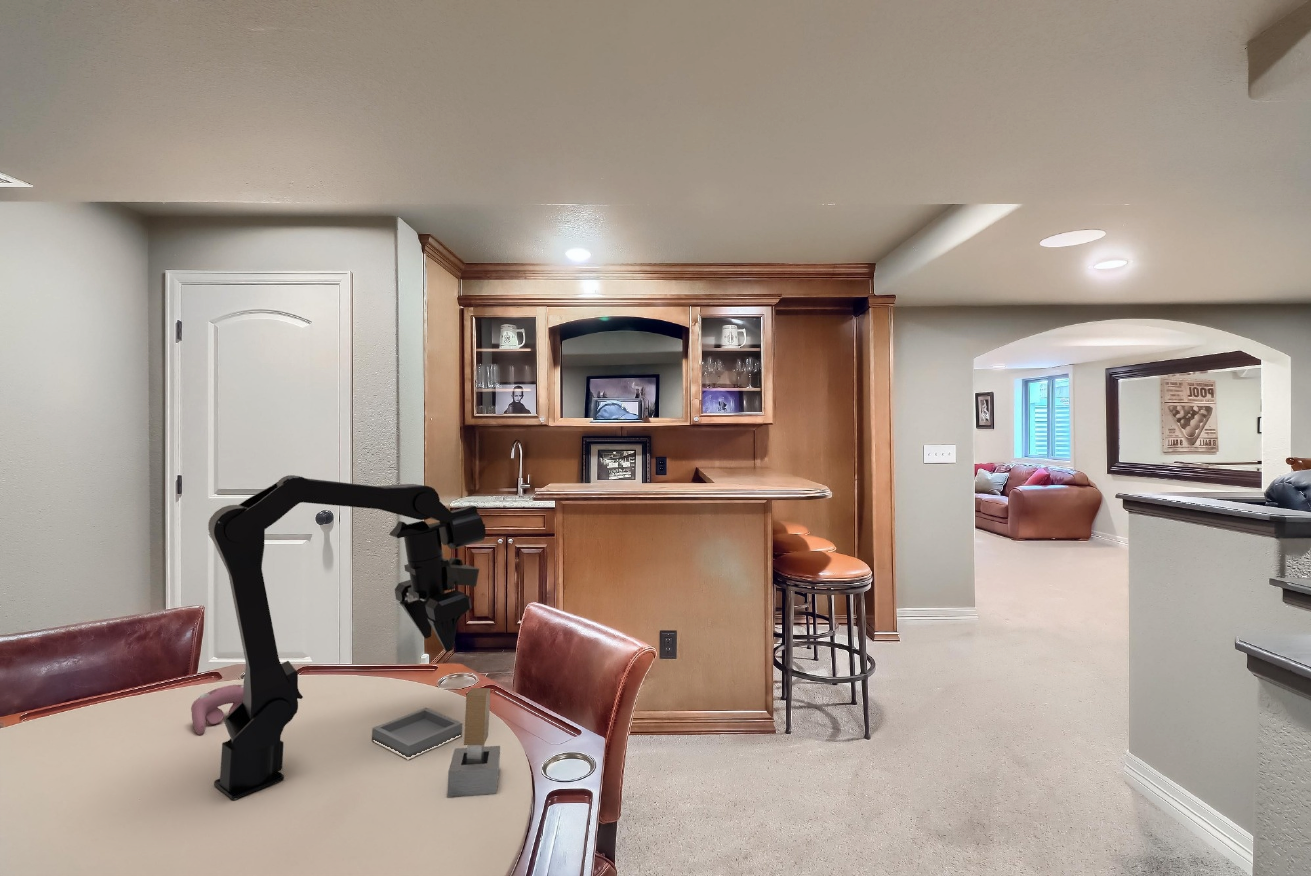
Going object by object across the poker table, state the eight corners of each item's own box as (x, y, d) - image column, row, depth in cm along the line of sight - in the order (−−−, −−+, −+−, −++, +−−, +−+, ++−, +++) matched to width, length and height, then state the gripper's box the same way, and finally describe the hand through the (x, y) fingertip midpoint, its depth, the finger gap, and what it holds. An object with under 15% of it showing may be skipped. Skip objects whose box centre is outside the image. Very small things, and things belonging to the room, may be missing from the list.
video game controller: (257, 720, 105) (253, 681, 107) (266, 716, 103) (262, 675, 105) (189, 739, 98) (186, 696, 100) (196, 735, 95) (193, 690, 97)
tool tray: (408, 760, 90) (409, 745, 90) (371, 741, 96) (372, 727, 96) (461, 736, 99) (462, 723, 99) (425, 720, 104) (425, 707, 104)
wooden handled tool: (481, 787, 84) (486, 695, 84) (461, 787, 83) (466, 695, 84) (486, 777, 86) (490, 688, 87) (467, 777, 86) (471, 687, 87)
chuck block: (496, 793, 82) (497, 768, 82) (447, 797, 81) (448, 771, 81) (499, 768, 89) (500, 745, 89) (453, 772, 87) (454, 748, 88)
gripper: (494, 551, 99) (506, 639, 100) (447, 538, 112) (459, 616, 114) (429, 570, 91) (443, 666, 92) (388, 554, 105) (401, 637, 106)
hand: (438, 643), depth 101 cm, fingers open, 9 cm apart
